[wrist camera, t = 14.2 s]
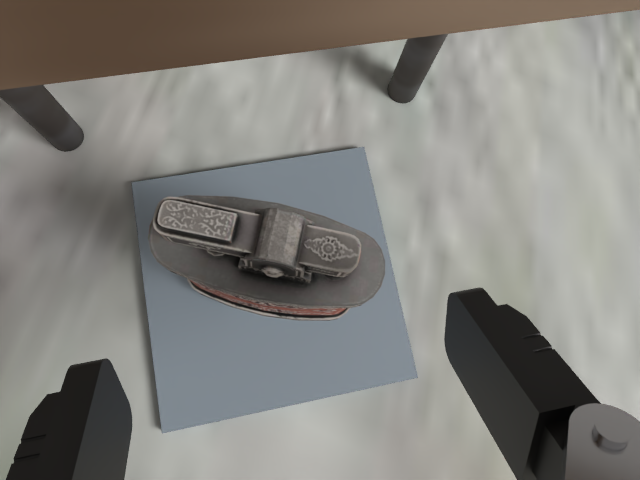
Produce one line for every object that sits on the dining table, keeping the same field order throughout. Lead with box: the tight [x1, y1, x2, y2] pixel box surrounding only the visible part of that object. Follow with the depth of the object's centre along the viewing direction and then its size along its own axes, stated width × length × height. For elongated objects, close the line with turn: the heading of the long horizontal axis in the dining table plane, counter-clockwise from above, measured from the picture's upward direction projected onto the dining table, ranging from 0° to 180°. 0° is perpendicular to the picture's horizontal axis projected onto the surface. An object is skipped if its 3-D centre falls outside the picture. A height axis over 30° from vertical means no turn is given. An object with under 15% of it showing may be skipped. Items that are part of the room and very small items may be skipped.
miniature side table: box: [0, 0, 640, 151], centre depth 14 cm, size 20×11×22 cm, turn 101°
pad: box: [131, 147, 418, 433], centre depth 24 cm, size 12×12×1 cm
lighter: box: [148, 195, 385, 321], centre depth 19 cm, size 8×3×10 cm, turn 79°
